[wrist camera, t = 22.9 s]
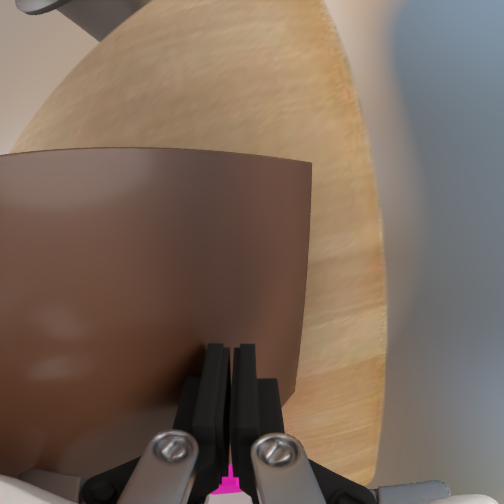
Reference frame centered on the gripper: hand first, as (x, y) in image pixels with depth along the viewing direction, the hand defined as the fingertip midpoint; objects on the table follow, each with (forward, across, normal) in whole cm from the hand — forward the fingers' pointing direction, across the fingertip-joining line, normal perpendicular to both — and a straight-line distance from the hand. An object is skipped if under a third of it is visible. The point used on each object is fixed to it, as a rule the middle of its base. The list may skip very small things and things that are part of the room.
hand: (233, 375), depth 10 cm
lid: (-1, +2, 0) cm, 2 cm away
